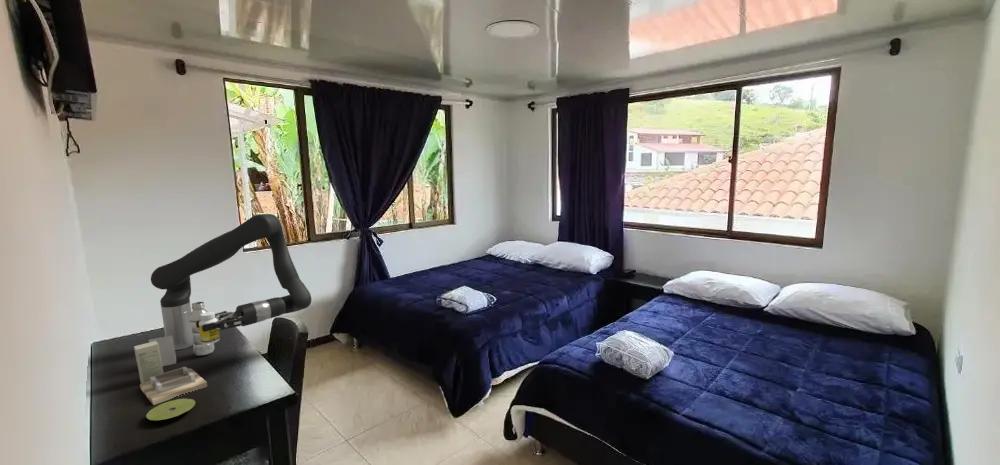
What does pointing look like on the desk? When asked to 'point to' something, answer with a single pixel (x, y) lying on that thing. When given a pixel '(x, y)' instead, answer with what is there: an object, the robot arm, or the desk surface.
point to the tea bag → (166, 350)
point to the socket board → (172, 384)
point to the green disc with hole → (170, 409)
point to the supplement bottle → (210, 335)
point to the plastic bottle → (195, 316)
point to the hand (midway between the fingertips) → (199, 326)
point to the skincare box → (148, 360)
